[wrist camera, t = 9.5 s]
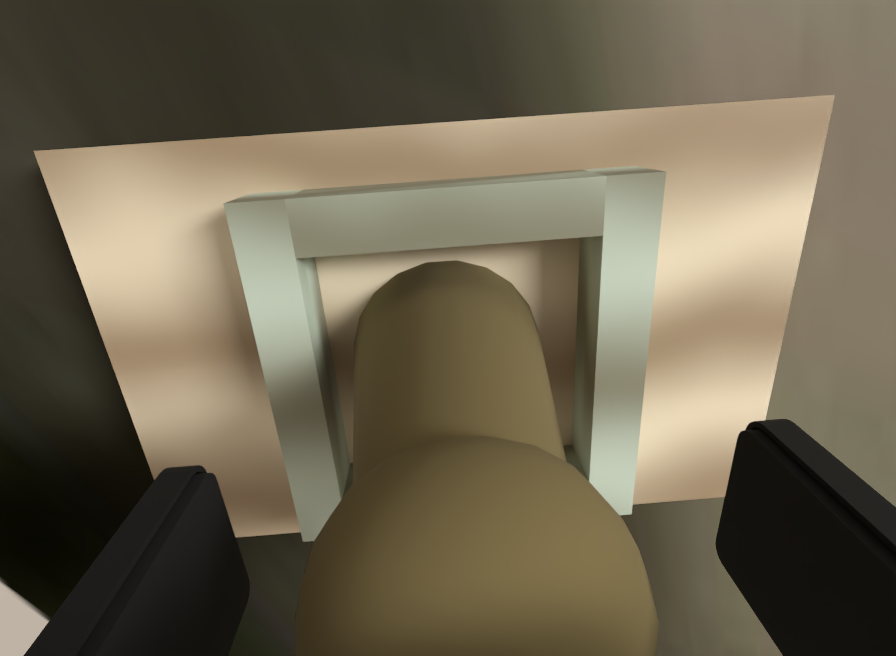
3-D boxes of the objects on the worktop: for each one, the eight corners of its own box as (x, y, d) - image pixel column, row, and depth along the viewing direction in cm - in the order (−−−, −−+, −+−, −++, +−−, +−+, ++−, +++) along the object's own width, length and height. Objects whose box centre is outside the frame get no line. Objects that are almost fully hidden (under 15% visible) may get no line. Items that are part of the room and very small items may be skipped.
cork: (483, 222, 14) (625, 448, 4) (569, 376, 17) (800, 773, 6) (316, 321, 15) (105, 699, 5) (417, 455, 17) (407, 911, 7)
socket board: (71, 149, 15) (-30, 154, 11) (796, 98, 15) (900, 89, 12) (194, 513, 20) (149, 588, 17) (726, 469, 20) (784, 534, 17)
